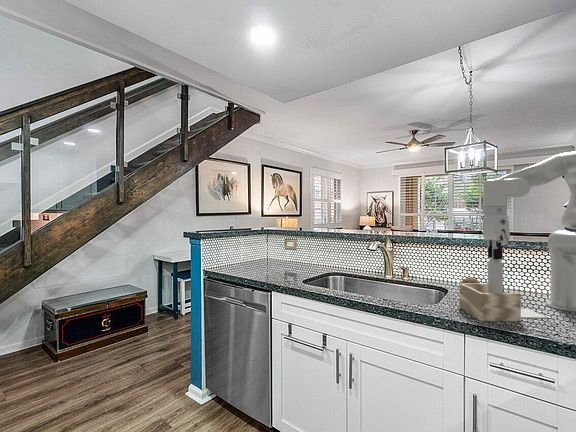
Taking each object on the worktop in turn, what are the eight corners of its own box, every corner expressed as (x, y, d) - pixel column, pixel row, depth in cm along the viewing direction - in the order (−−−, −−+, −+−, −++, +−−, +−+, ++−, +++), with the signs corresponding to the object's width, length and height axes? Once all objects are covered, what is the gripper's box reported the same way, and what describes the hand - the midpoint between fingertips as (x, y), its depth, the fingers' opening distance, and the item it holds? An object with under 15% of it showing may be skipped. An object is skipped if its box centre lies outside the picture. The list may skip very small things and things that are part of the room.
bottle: (485, 301, 126) (485, 239, 126) (500, 302, 125) (500, 239, 124) (490, 305, 121) (489, 241, 121) (505, 306, 120) (505, 241, 119)
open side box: (494, 307, 131) (494, 283, 131) (520, 321, 115) (520, 293, 115) (459, 307, 131) (459, 283, 131) (481, 321, 115) (481, 293, 115)
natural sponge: (464, 295, 148) (464, 274, 148) (485, 299, 142) (485, 277, 141) (456, 299, 142) (456, 277, 142) (478, 303, 136) (478, 280, 135)
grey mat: (527, 309, 127) (527, 308, 127) (547, 318, 117) (547, 317, 117) (502, 309, 128) (502, 308, 128) (519, 318, 118) (519, 317, 118)
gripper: (519, 211, 114) (519, 261, 114) (492, 210, 130) (492, 255, 130) (497, 211, 114) (498, 262, 115) (473, 211, 130) (474, 255, 131)
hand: (495, 258), depth 122 cm, fingers closed on bottle, 2 cm apart
